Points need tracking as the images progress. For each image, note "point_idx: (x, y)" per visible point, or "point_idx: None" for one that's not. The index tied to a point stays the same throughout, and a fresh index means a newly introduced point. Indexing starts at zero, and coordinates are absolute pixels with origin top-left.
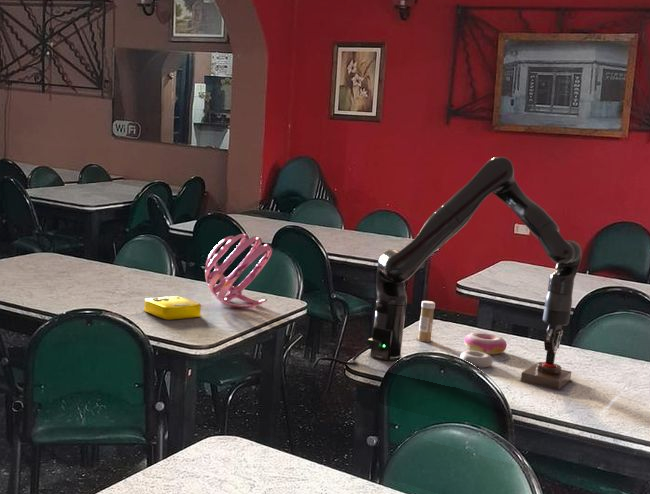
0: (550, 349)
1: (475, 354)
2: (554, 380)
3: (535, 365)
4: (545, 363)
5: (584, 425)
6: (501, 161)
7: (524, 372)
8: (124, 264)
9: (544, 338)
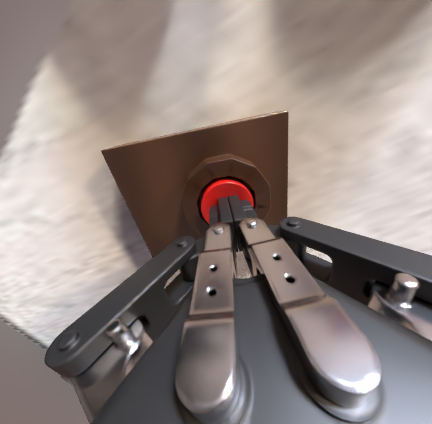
0: (180, 270)
1: None
2: (148, 248)
3: (255, 128)
4: (214, 198)
5: (34, 335)
6: None
7: (114, 156)
8: None
9: (56, 344)
